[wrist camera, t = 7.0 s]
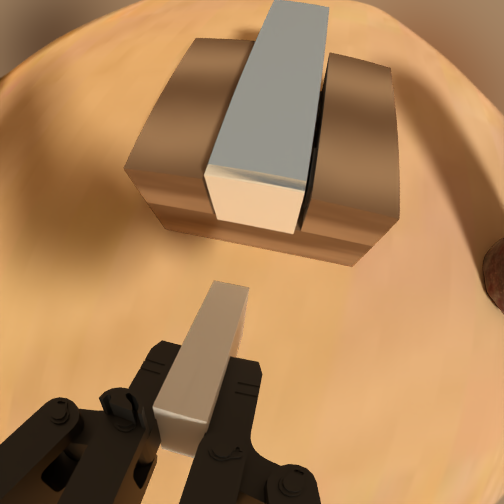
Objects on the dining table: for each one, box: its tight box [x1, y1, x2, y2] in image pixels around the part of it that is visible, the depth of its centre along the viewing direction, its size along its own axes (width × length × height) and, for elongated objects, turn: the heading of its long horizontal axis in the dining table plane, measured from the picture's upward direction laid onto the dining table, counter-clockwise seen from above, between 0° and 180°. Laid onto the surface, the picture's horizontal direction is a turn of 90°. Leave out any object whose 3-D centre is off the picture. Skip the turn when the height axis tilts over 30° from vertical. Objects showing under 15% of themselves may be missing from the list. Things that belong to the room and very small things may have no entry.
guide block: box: [124, 38, 400, 267], centre depth 20 cm, size 12×14×8 cm
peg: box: [204, 0, 329, 234], centre depth 18 cm, size 18×4×5 cm, turn 168°
